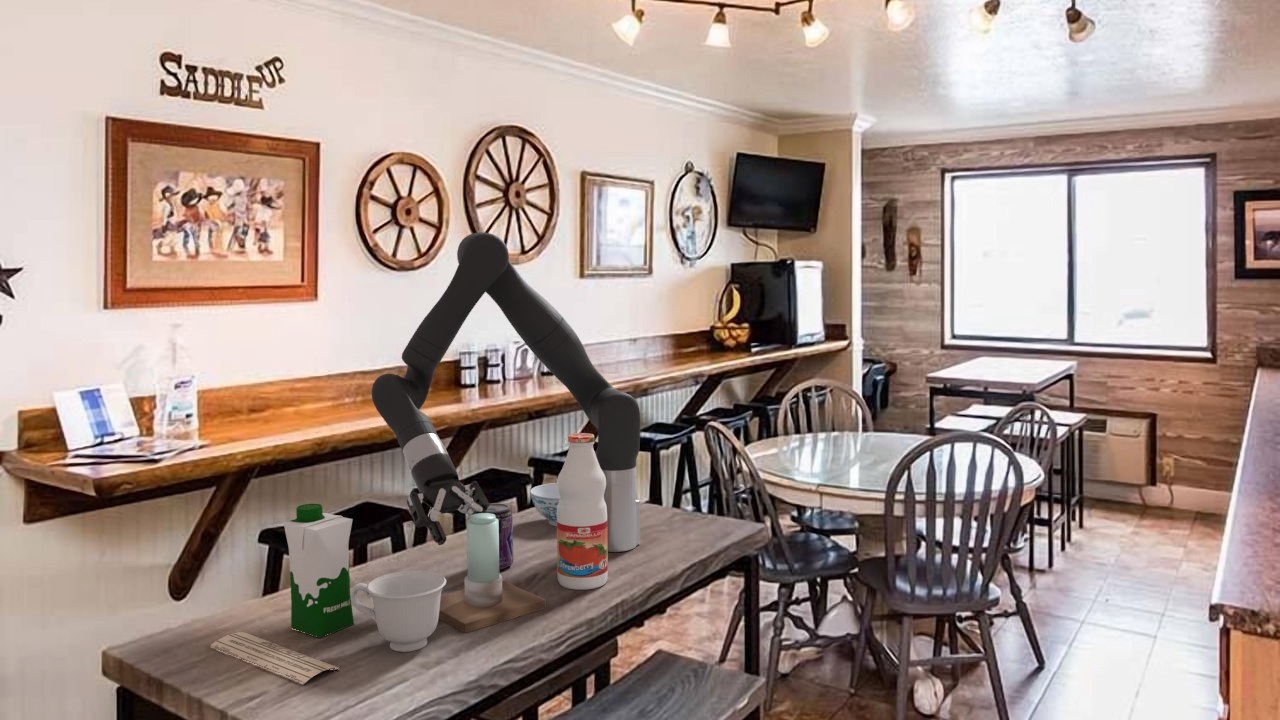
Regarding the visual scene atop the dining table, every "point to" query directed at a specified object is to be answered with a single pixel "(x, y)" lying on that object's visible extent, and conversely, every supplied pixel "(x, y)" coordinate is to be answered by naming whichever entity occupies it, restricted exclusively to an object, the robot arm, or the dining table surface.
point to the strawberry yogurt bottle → (582, 517)
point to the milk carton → (319, 571)
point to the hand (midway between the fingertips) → (464, 537)
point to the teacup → (403, 606)
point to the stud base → (487, 614)
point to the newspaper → (271, 656)
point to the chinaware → (546, 501)
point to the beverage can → (504, 532)
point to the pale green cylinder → (483, 548)
